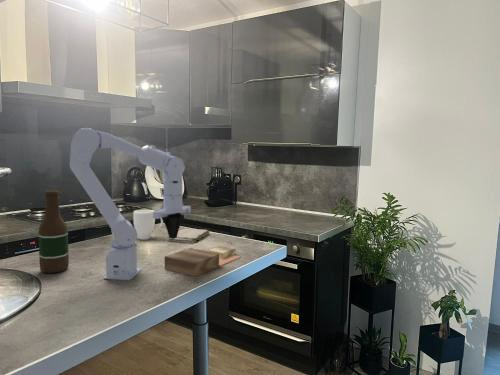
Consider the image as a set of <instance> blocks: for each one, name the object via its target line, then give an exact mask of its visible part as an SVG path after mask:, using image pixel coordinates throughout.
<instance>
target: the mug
mask: <svg viewBox="0 0 500 375" xmlns="http://www.w3.org/2000/svg"><path fill="white" fill-rule="evenodd" d="M154 211H155V210H153V209H146V208H145V209H136V210H134V211H133V214H132V215H133V227H134V228H135V229H136V231H137V239H139V240H142V241H143V240H149V239H150V238H151V236H152V234H153V233H155V232H157V231H158V230H159V229H160V228H161V227H162V226H163V224H164V222H163V220H162V217H161V218H160V225H159V226H158V227H157V228H156V229H155V230H154V227H155V222H156V218H153V212H154ZM153 230H154V231H153Z"/></svg>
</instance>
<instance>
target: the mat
mask: <svg viewBox="0 0 500 375" xmlns="http://www.w3.org/2000/svg"><path fill="white" fill-rule="evenodd" d="M207 252H209V250H208V251H207ZM241 258H242V256H241V255H237V254H234V255H231V256H229V257H226V258H224V259H220V258H219V266H218V267H222V266H224V265H227V264H229V263H231V262H233V261H236V260H238V259H241Z"/></svg>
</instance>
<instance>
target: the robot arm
mask: <svg viewBox="0 0 500 375" xmlns="http://www.w3.org/2000/svg"><path fill="white" fill-rule="evenodd" d="M97 148H99V149H108V148H109V149H110V148H111V149H112V150H113V149H114V150H115V151H116V150H117V151H119V152H122V153H125V154H127V155H131V156H133V157H136V158H138V161H139V163H140V164H142V165H144V166H147V167H149V168H153V169H155V170H157V171H162V172H163V196H162V197H163V208H162V209H159V210H156V211H155V210H154V212H153V218H156V219H157V220H159V219H160V218H161V217H162V220H163V224H164V226H165V228H166V231H167V234H168V236H169V238H172V239H175V238H177V234H178V231H180V227H181V225H182V223H183V221H184V219H185V215H184V214H186V213H191V212H192V207H191V206H190V205H185V206H184V205H183V173H184V172H185V170H186V166H185V163H184V160H182V158H181V157H178V156H173V155H171V152H170V151H167V152H165V151H163V150H161V149H158V148H157V146H156V145H154V144H151V145H144V146H143V147H141V146H139V145H136V144H134V143H132V142H130V141H127V140H125V139H123V138H120V137H118V136H117V135H116V136H115V135H114V134H111V133H108V132H104V131H100V130H94V129H93V128H90V127H82V128H80V129H78V130H77V131H76V132H75V134H74V135H73V138H72V140H71V142H70V156H69V169H70V170H71V172H72V173H73V174H74V175H75V178H77V180H78V182H79V183H80V185H81V186H82V187H83V190H84V191H85V192H86V194H87V195H88V196H89V198H90V199H91V201H92V202H93V204H94V205H95V206H96V208H97V209H98V211H99V213H100V214H101V216H102V217H103V218H104V220H105V221H106V223H107V224H108V227H109V228H110V229H111V234H112V236H113V238H114V239H113V240H112V241H111V242H110V250H109V252H108V253H107V255H106V257H105V271H106V272H105V273H106V274H105V275H104V276H103V280H121V281H131V280H132V279H133V278H134V277H135V276H136V275H137V274H138V273H139V272H141V271H142V270H143V268H142V267H138V244H137V243H138V242H137V239H138V235H137V231H136V229H135V227H134V225H133V224H132V223H131V222H130V221H129V220H127V219H126V218H125V217H124V216H123V215H122V213H121V212H120V210H119V209H118V207H117V206H116V204H115V203H114V200H113V199H112V198H111V197H110V195H109V193H108V192H107V191H106V189H105V188H104V186H103V184H102V183H101V182H100V180H99V178H98V177H97V176H96V174H95V173H94V171H93V170H92V168H91V166H90V163H91V160H92V156H93V154H94V153H95V151H96V150H97ZM156 219H155V220H156ZM160 220H161V219H160Z"/></svg>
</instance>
